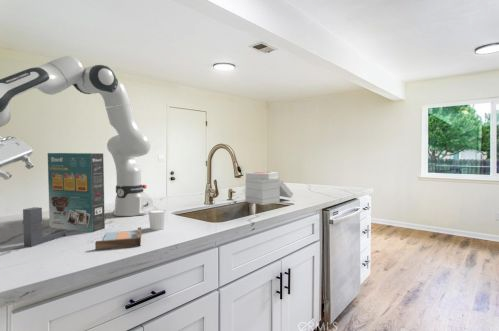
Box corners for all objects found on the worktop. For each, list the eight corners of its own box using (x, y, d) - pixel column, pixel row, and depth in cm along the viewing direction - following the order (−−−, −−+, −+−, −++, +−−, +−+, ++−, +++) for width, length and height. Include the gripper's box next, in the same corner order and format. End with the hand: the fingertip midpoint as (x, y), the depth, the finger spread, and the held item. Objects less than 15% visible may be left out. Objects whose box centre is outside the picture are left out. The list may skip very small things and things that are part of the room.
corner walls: (102, 237, 107) (102, 230, 107) (141, 234, 111) (141, 227, 111) (95, 250, 93) (95, 242, 93) (140, 245, 97) (140, 238, 97)
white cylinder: (161, 225, 124) (161, 208, 124) (169, 228, 119) (169, 211, 119) (145, 228, 119) (145, 211, 119) (153, 231, 114) (153, 213, 114)
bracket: (31, 246, 96) (30, 210, 95) (24, 246, 96) (22, 209, 96) (65, 235, 108) (64, 203, 108) (58, 235, 109) (57, 202, 108)
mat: (106, 233, 111) (106, 232, 111) (141, 230, 115) (141, 229, 115) (98, 249, 93) (98, 248, 93) (140, 245, 97) (140, 244, 97)
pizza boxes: (295, 200, 189) (295, 172, 188) (262, 206, 169) (262, 174, 168) (273, 196, 203) (273, 170, 202) (240, 201, 183) (240, 172, 182)
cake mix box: (104, 228, 119) (103, 153, 118) (92, 232, 113) (90, 153, 112) (63, 223, 126) (61, 153, 124) (49, 227, 120) (47, 153, 118)
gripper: (8, 140, 109) (39, 167, 112) (-49, 159, 90) (-11, 190, 93) (16, 129, 107) (48, 156, 110) (-41, 146, 88) (-1, 178, 91)
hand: (21, 172), depth 101 cm, fingers open, 8 cm apart
